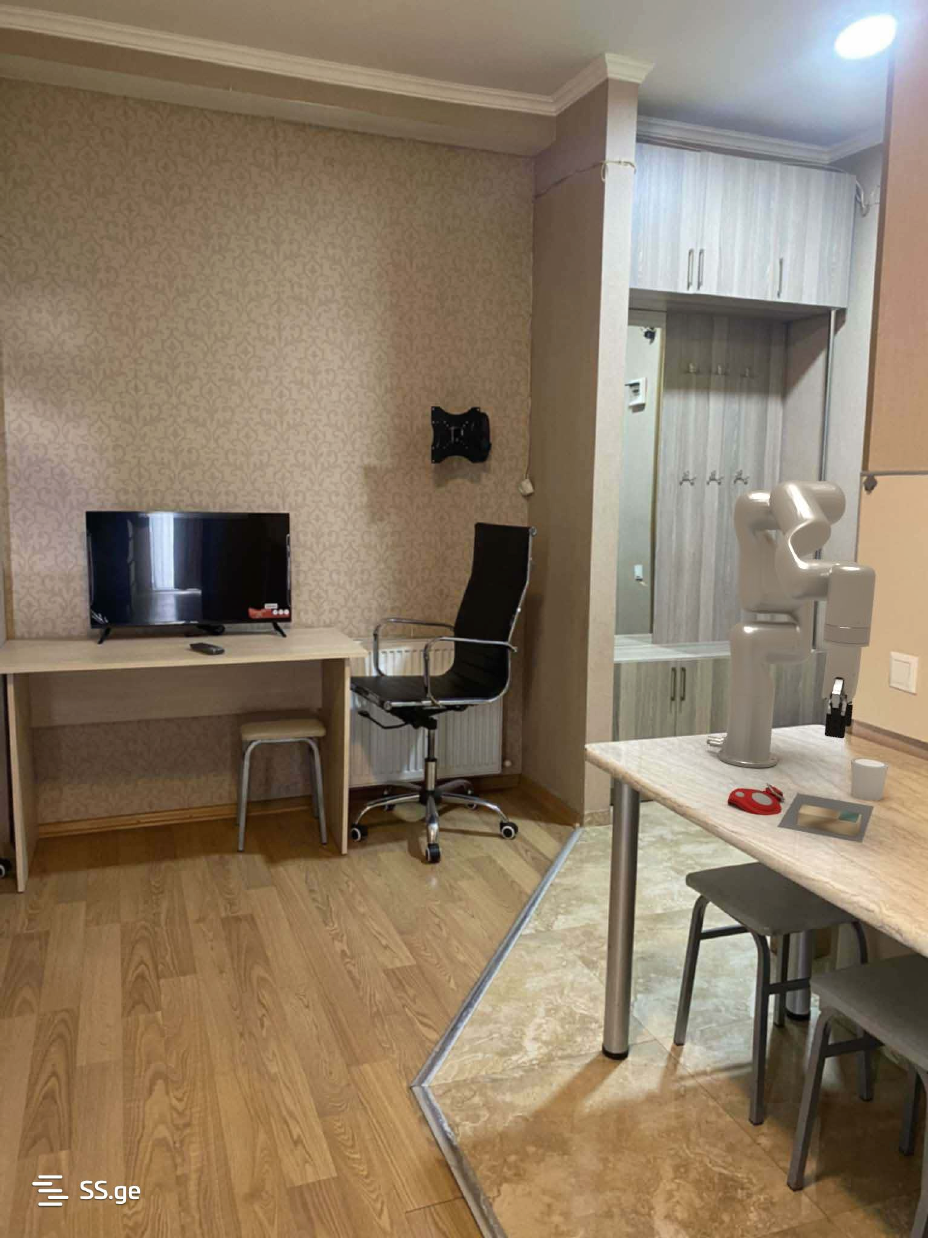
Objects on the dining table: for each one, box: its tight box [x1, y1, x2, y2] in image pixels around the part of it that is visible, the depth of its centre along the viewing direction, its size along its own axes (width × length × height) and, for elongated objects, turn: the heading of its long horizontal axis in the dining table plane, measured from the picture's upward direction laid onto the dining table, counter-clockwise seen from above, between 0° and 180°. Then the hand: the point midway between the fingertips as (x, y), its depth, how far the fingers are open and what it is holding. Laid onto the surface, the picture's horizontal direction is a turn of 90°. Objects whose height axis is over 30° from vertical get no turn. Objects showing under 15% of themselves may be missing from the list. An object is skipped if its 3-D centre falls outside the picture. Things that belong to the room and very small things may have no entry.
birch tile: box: [797, 805, 861, 837], centre depth 171 cm, size 10×5×3 cm, turn 62°
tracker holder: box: [727, 783, 786, 816], centre depth 183 cm, size 12×4×10 cm
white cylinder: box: [850, 757, 889, 802], centre depth 191 cm, size 7×7×7 cm
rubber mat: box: [777, 793, 874, 844], centre depth 177 cm, size 14×22×1 cm, turn 152°
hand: (838, 731), depth 169 cm, fingers open, 9 cm apart
